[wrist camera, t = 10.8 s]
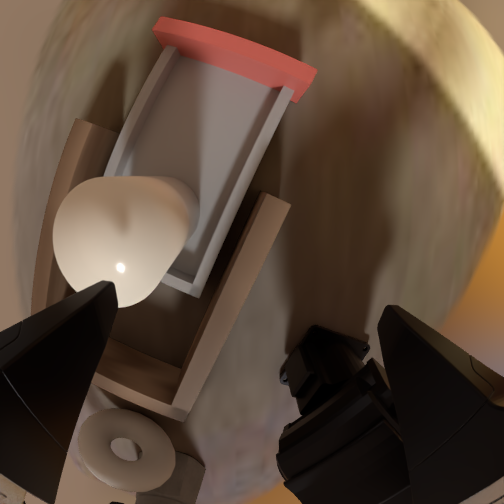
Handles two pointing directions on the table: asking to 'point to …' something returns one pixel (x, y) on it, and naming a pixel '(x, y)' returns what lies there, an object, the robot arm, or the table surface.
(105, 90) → the table surface
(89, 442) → the donut
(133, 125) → the tray
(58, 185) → the slot
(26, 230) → the table surface
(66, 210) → the canister
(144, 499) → the coffeepot
